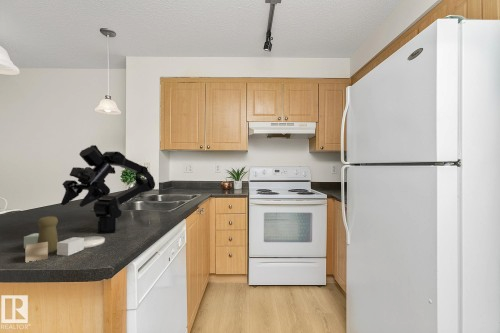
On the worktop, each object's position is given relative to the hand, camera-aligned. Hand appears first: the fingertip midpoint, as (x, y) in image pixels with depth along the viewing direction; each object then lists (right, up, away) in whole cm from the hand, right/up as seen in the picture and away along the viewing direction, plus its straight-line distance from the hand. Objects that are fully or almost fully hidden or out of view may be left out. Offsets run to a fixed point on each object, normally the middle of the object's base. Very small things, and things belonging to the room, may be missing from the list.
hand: (71, 205), depth 89 cm
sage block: (-9, -14, -4) cm, 17 cm away
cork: (-2, -14, -8) cm, 16 cm away
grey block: (+7, -14, -9) cm, 18 cm away
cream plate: (+6, -14, -1) cm, 15 cm away
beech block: (+1, -14, -15) cm, 20 cm away
